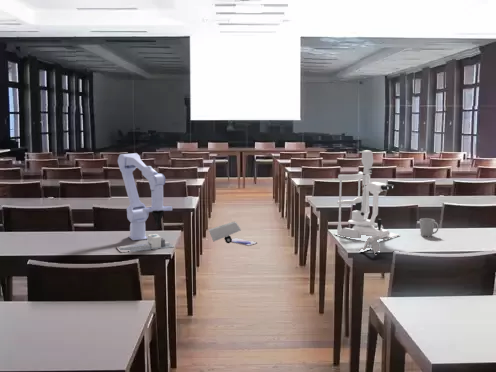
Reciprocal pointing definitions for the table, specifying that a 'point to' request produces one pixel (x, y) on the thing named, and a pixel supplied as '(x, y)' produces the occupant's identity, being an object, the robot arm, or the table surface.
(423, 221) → the cup
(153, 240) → the block
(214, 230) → the grey tilted panel
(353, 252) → the table surface
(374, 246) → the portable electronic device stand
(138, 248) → the rail
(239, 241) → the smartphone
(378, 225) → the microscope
